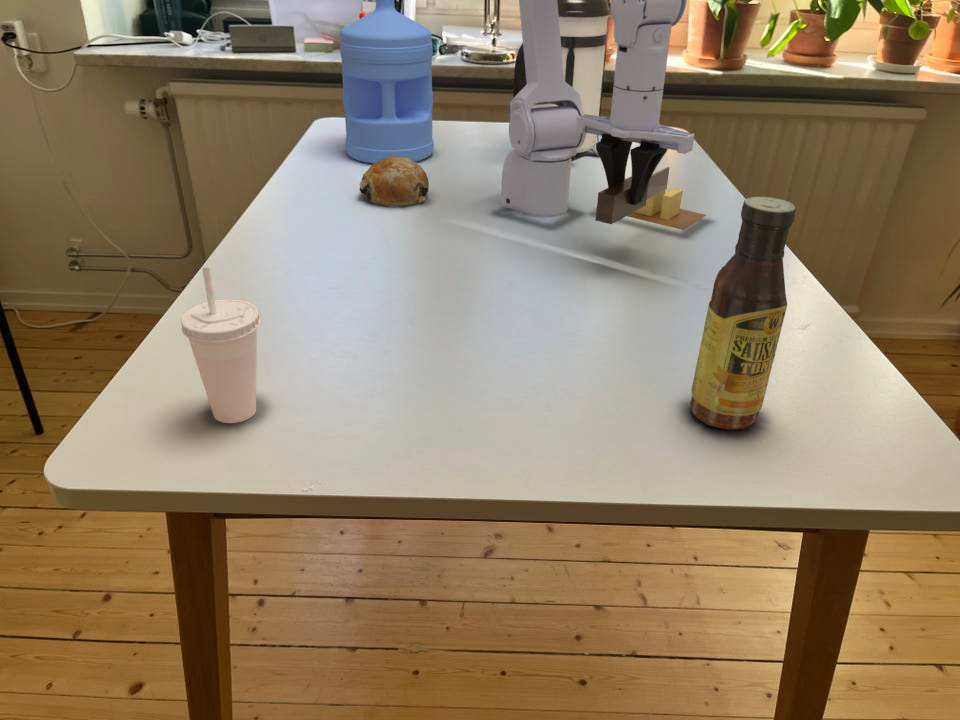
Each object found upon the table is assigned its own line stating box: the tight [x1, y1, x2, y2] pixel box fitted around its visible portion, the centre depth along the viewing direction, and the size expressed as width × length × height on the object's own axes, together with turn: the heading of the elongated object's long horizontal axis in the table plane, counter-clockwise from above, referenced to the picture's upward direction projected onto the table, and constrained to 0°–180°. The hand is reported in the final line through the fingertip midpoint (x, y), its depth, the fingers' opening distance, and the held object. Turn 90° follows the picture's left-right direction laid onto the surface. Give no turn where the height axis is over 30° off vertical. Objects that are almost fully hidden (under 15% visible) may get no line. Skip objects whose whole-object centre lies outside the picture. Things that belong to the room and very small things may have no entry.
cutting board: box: [595, 207, 707, 231], centre depth 120 cm, size 14×8×1 cm, turn 54°
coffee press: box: [512, 0, 611, 157], centre depth 141 cm, size 17×16×30 cm
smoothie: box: [180, 265, 262, 424], centre depth 70 cm, size 6×6×14 cm
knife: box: [595, 166, 670, 225], centre depth 103 cm, size 2×17×4 cm, turn 143°
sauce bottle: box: [689, 196, 797, 431], centre depth 69 cm, size 6×6×20 cm
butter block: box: [625, 177, 666, 216], centre depth 120 cm, size 7×4×4 cm, turn 54°
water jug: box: [339, 0, 435, 165], centre depth 140 cm, size 16×16×28 cm
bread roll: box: [359, 157, 430, 207], centre depth 125 cm, size 10×10×8 cm
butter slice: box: [660, 188, 683, 220], centre depth 117 cm, size 1×4×4 cm, turn 144°
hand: (625, 200), depth 101 cm, fingers closed on knife, 2 cm apart
